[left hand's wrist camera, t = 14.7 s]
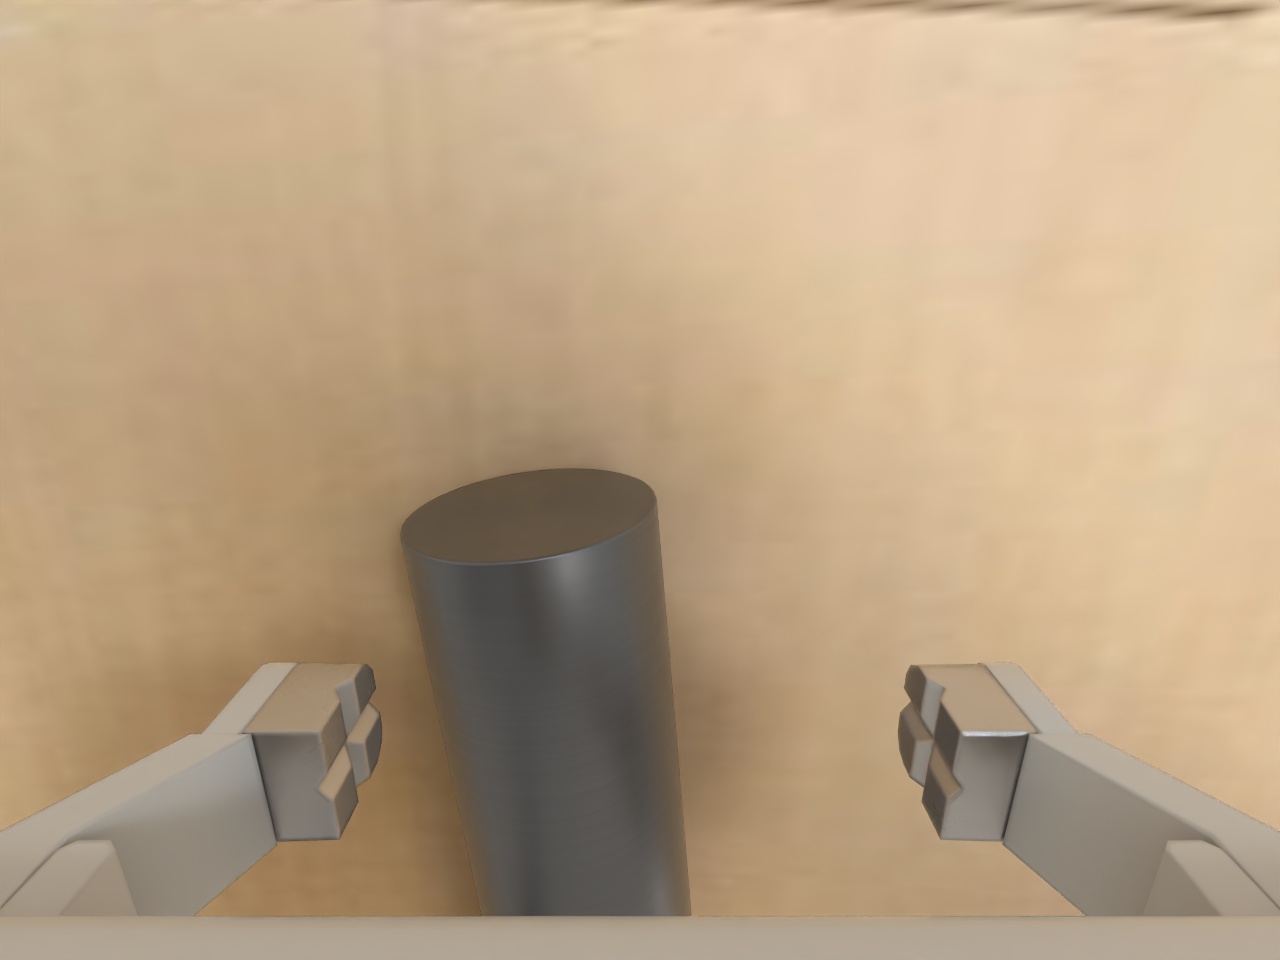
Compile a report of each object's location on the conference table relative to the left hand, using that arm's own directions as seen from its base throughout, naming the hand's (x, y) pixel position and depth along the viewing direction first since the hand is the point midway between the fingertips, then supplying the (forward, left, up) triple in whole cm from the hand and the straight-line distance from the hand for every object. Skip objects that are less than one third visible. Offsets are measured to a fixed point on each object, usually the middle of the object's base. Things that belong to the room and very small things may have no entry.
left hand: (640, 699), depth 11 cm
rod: (-10, +6, -10) cm, 15 cm away
